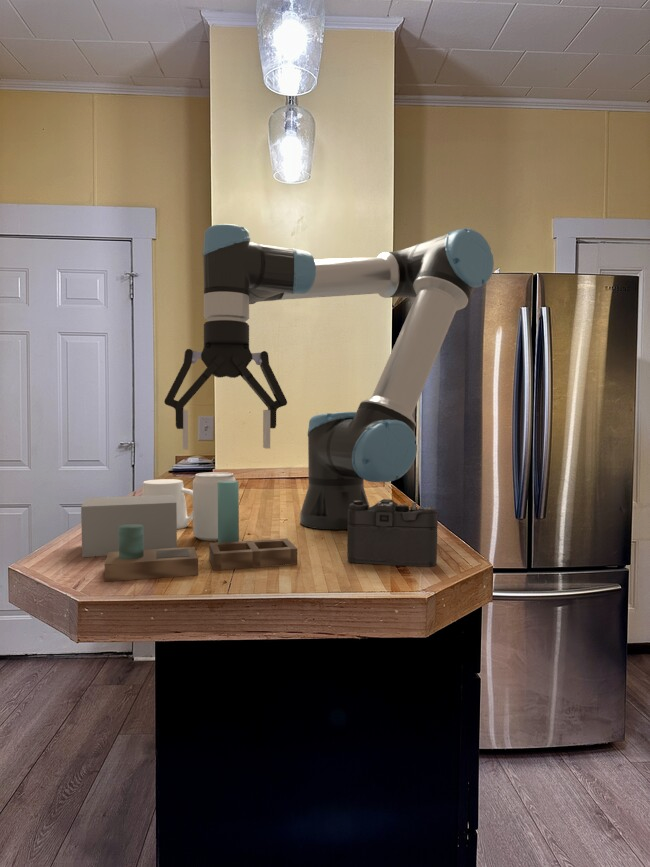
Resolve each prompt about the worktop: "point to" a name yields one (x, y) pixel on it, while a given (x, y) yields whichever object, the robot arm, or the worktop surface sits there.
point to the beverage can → (207, 504)
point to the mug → (170, 488)
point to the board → (147, 558)
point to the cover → (128, 522)
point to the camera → (392, 534)
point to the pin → (228, 511)
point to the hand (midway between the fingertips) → (226, 448)
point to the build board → (252, 554)
